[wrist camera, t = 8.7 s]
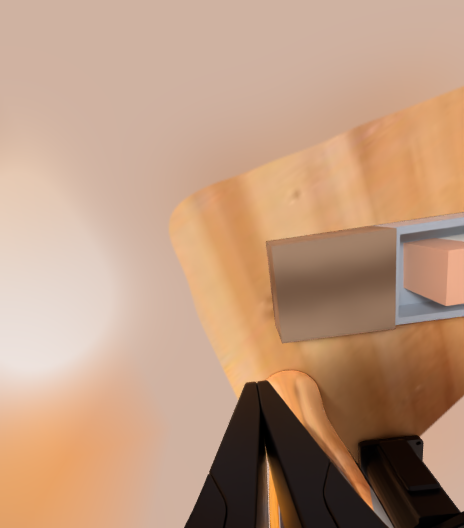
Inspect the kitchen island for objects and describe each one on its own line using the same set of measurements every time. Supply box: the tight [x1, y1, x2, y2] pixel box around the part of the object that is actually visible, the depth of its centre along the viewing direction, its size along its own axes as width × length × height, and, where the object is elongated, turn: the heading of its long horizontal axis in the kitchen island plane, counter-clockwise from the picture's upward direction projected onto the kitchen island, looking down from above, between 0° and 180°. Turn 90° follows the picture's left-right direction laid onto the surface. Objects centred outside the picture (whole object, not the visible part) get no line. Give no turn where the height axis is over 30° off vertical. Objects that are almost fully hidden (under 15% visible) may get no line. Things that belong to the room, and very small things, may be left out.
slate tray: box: [374, 212, 464, 325], centre depth 18 cm, size 8×10×2 cm
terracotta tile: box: [403, 238, 464, 306], centre depth 17 cm, size 4×4×2 cm
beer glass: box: [267, 370, 395, 528], centre depth 15 cm, size 7×7×15 cm
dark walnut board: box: [266, 226, 397, 343], centre depth 18 cm, size 8×9×3 cm
